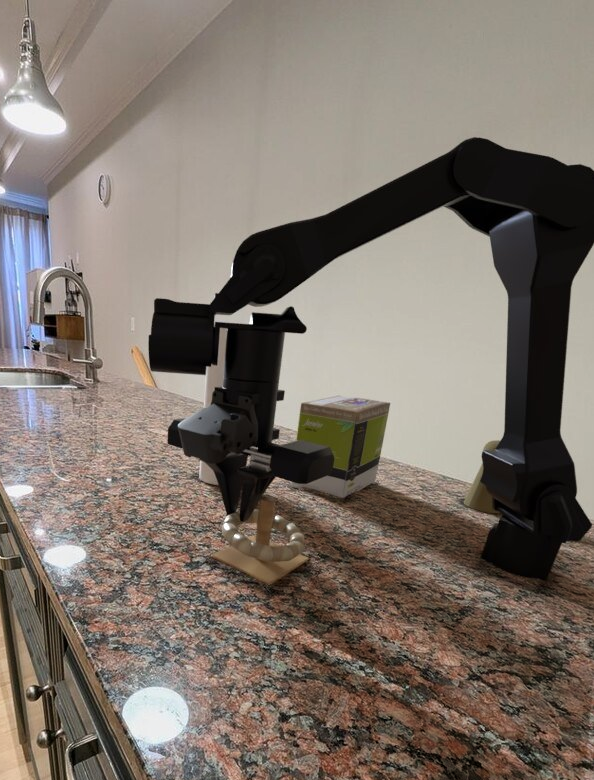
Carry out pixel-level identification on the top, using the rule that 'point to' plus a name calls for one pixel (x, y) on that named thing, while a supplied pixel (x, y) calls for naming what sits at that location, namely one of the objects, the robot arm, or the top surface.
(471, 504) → the game pawn
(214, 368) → the cylindrical container
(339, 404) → the tea box
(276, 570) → the post
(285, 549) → the bracelet
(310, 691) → the top surface
